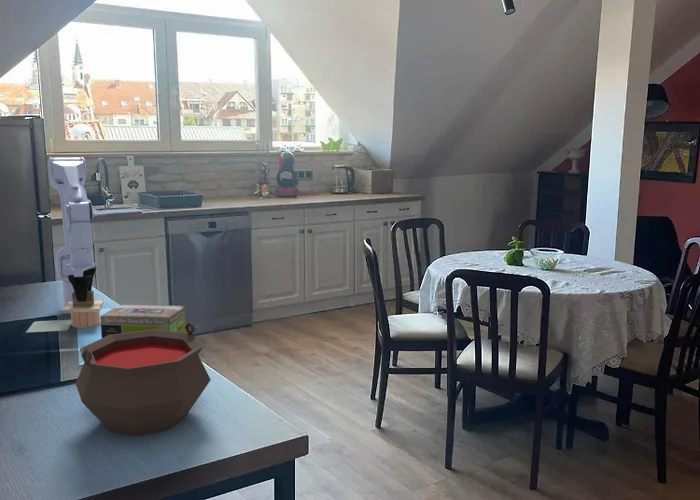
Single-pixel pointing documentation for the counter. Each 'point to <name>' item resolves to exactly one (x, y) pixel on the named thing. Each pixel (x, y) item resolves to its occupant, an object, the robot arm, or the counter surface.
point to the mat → (49, 326)
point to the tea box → (143, 319)
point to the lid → (84, 304)
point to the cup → (85, 319)
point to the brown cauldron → (142, 379)
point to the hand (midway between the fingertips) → (84, 297)
